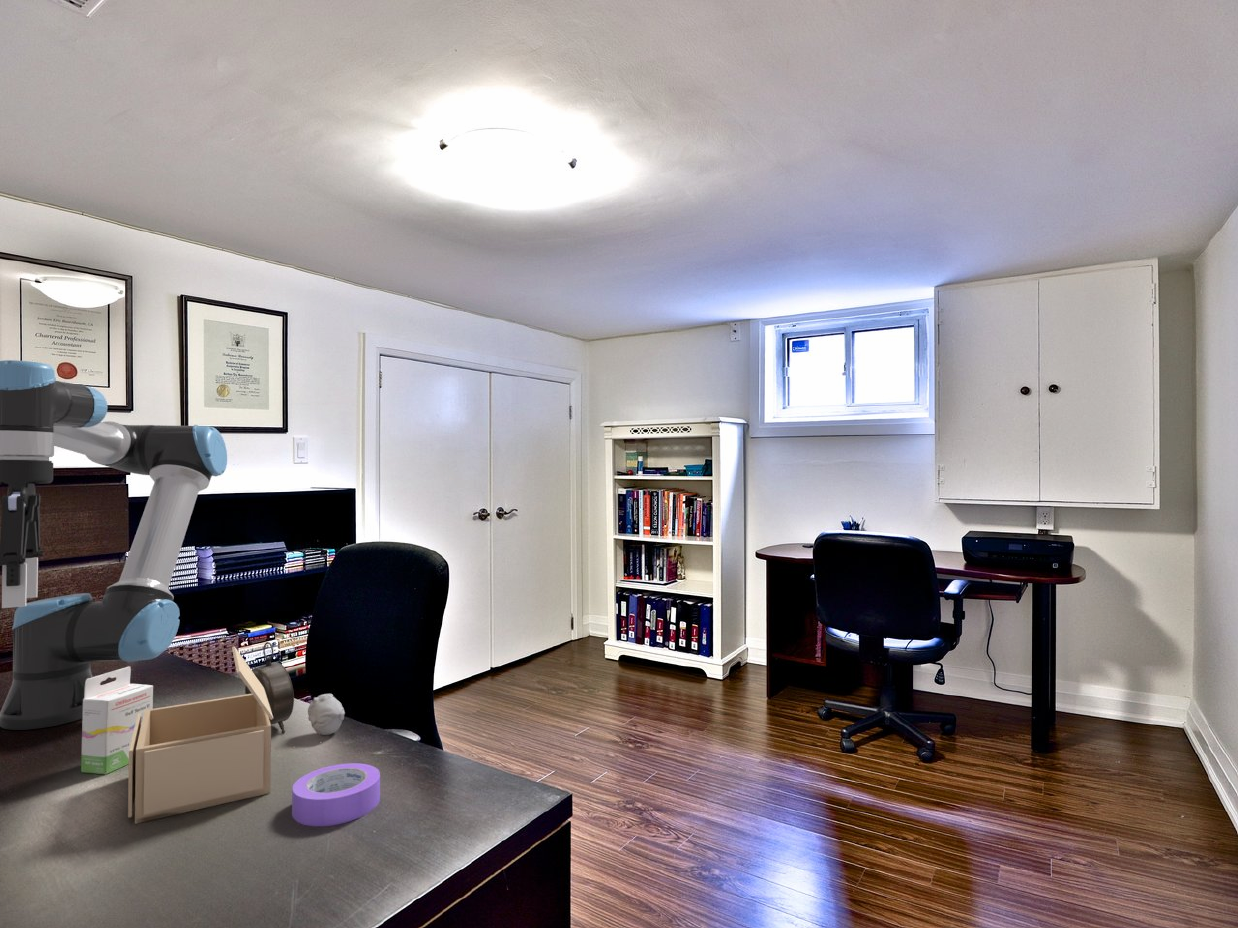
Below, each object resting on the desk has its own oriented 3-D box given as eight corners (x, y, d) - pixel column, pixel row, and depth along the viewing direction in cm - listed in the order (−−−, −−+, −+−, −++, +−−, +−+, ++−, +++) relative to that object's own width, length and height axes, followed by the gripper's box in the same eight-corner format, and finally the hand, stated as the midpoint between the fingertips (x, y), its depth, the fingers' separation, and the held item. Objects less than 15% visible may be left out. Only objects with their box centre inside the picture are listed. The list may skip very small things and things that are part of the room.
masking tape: (284, 802, 97) (284, 775, 97) (366, 780, 104) (366, 755, 104) (302, 837, 88) (302, 807, 88) (391, 810, 95) (391, 783, 95)
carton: (137, 772, 106) (138, 709, 106) (260, 748, 115) (260, 690, 115) (127, 827, 89) (128, 753, 90) (270, 794, 99) (271, 727, 99)
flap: (261, 689, 114) (231, 647, 112) (263, 687, 114) (234, 645, 112) (270, 719, 100) (237, 672, 98) (273, 718, 100) (239, 670, 98)
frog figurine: (329, 724, 126) (330, 687, 127) (352, 732, 123) (352, 694, 123) (299, 734, 121) (299, 696, 121) (322, 743, 118) (322, 703, 118)
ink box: (105, 775, 105) (106, 681, 105) (79, 772, 106) (81, 679, 106) (154, 753, 113) (155, 666, 114) (129, 750, 114) (130, 664, 114)
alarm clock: (295, 732, 123) (296, 644, 123) (265, 741, 118) (266, 650, 119) (268, 718, 129) (269, 634, 130) (238, 726, 125) (240, 640, 125)
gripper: (6, 459, 113) (4, 594, 112) (-29, 457, 95) (-31, 616, 95) (63, 460, 117) (62, 590, 116) (40, 458, 99) (38, 611, 99)
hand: (20, 602), depth 106 cm, fingers open, 8 cm apart
